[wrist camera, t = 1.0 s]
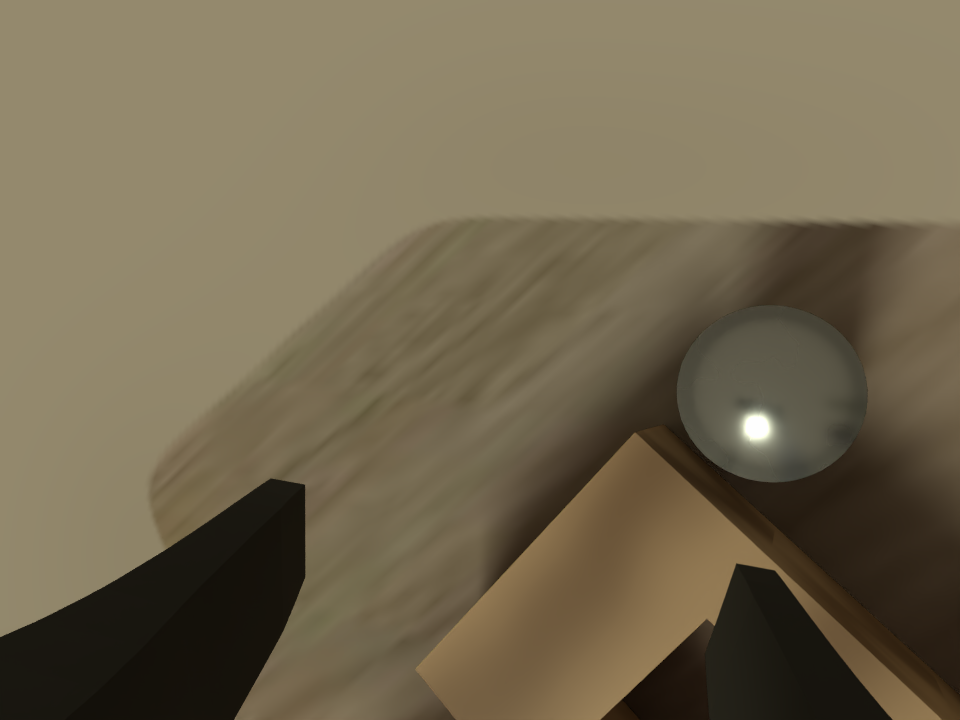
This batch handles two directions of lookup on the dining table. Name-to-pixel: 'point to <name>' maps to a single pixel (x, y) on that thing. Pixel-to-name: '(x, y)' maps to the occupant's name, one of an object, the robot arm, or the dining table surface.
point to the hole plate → (647, 599)
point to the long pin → (772, 393)
